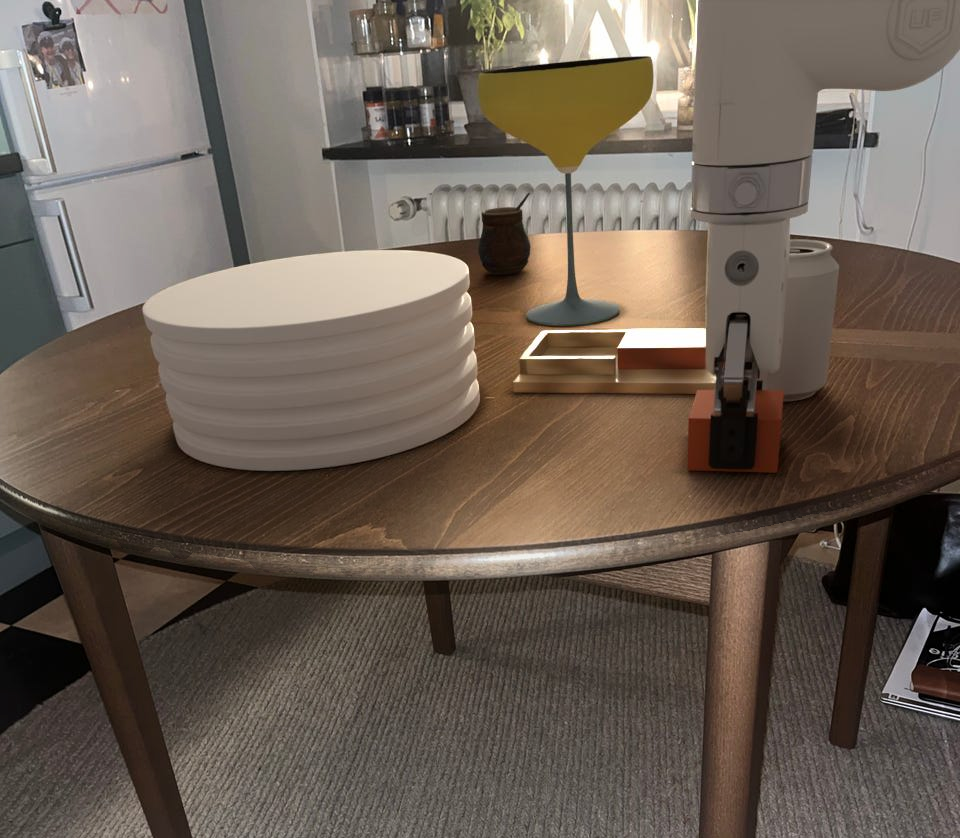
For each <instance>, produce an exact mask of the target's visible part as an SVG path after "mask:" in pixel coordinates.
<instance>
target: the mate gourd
mask: <svg viewBox="0 0 960 838" xmlns="http://www.w3.org/2000/svg"><path fill="white" fill-rule="evenodd" d="M530 194H531V192H527V193H526V194H525V195H524V197H523V199H522V200H521V201H520V202H519V204H518V205H517V206H512V207H511V206H503V207H494V208H488V209H485V210H483V211H481V223H482V230H481V234H480V238H479V241H478V249H477V251H478V256H479V260H480V262H481V265H482V267H483V269H484V270H485V271H487V273H489V274H490V275H492V276H509V275H515V274H519V273H521V272H522V271H523V270H524V269H525V267H526V266H527V265H528V264H529V258H530V256H531V242H530V241H531V240H530V238H529V235H528V233H527V232H526V229H525V227H524V223H523V220H524V219H523V218H524V217H523V215H524V214H523V209H522V208H521V207H522V206H524V204H525V202H526V201H527V199H528V198H529V197H530Z"/></svg>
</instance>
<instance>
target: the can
mask: <svg viewBox="0 0 960 838" xmlns="http://www.w3.org/2000/svg"><path fill="white" fill-rule="evenodd" d="M833 249H834V246H833V245H831V243H829V242H826V241H822V240H816V239H790V253H789V270H788V281H787V295H786V307H785V318H784V331H783V341H782V351H781V360H780V368H779V370H778V371H777V372H776V373H775V374H774V375H770V376H769V371H760V379H757V380H763V384H762V390H783V391H784V397H783V402H794V401H802V400H804V399H808V398H810V397H813V396H814V395H815V394H816V393H817V392H818V391H819V390H820V389H822V388H823V387H824V386H826V384H827V382H828V376H829V368H830V367H829V365H830V358H831V357H830V356H831V347H832V337H833V329H834V319H835V310H836V301H837V292H838V291H837V290H838V280H839V271H840V265H839V264H838V262H837V261H836V260H835V259H834V257H833V256H832V255H831V251H832V250H833Z"/></svg>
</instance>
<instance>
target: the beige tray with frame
mask: <svg viewBox="0 0 960 838" xmlns="http://www.w3.org/2000/svg"><path fill="white" fill-rule="evenodd" d="M518 369H519V371H518V372H519V374H518V375H517V376H516V378H515V379H514V380H513V382H512V387H513V389H512V390H513V393H525V394H526V393H527V394H528V393H533V394H535V393H536V394H537V393H541V394H544V393H545V394H546V393H547V394H652V395H653V394H659V395H661V394H662V395H663V394H665V395H666V394H668V395H669V394H673V395H676V394H677V395H696V393H697V390H715V384H716V374H715V375H713V374H711V373H710V372H709V371H708V370H707V367H706V327H705V328H704V327H702V328H700V327H698V328H697V327H696V328H693V327H691V328H628V329H582V330H581V329H580V330H579V329H577V330H576V329H575V330H574V329H573V330H541V331H540V333H538V335H537V336H536V337H535V338H534V340H533V341H532V342H531V343H530V344H529V345H528V347H527V348H526V350H524V352H523V354H521V355H520V357H519V358H518Z"/></svg>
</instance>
